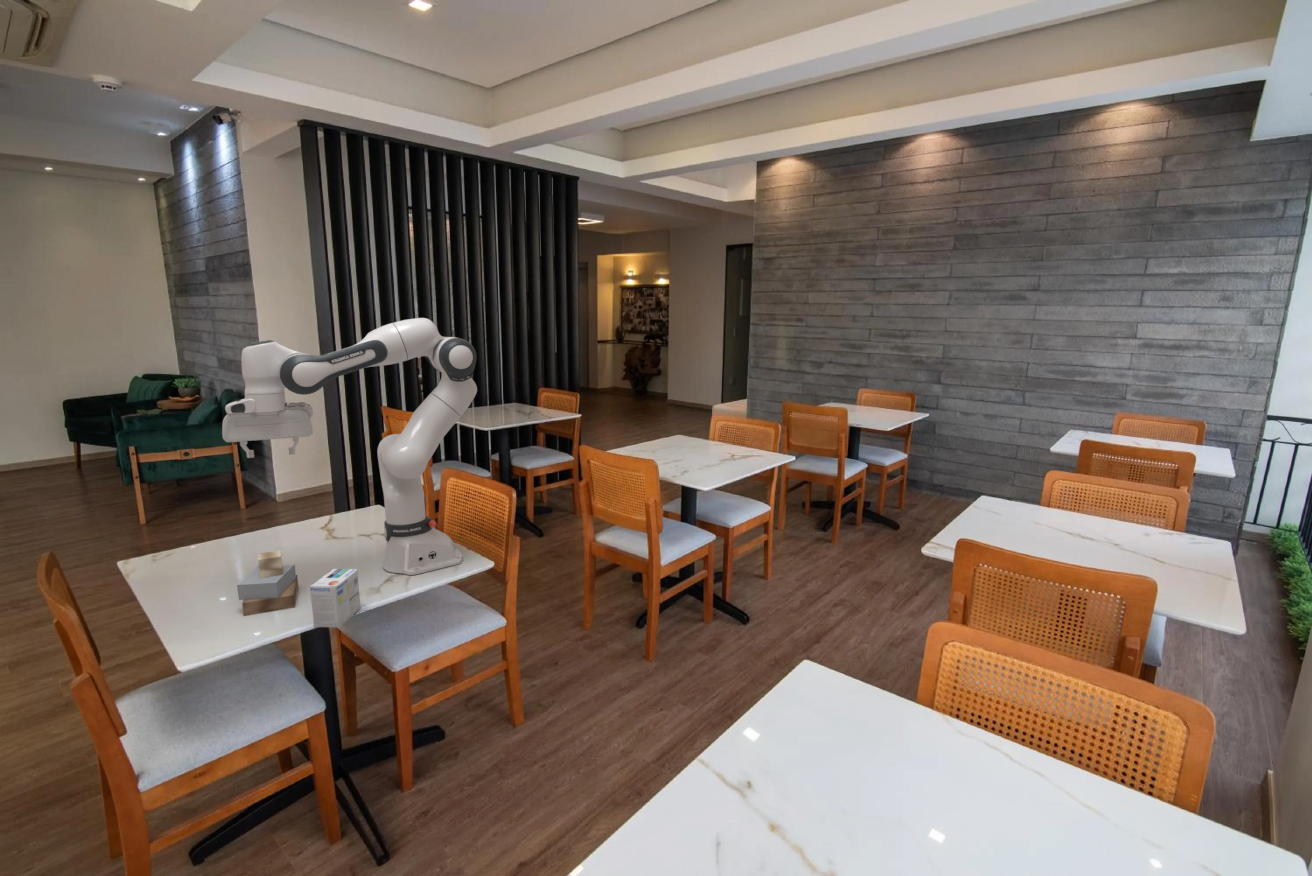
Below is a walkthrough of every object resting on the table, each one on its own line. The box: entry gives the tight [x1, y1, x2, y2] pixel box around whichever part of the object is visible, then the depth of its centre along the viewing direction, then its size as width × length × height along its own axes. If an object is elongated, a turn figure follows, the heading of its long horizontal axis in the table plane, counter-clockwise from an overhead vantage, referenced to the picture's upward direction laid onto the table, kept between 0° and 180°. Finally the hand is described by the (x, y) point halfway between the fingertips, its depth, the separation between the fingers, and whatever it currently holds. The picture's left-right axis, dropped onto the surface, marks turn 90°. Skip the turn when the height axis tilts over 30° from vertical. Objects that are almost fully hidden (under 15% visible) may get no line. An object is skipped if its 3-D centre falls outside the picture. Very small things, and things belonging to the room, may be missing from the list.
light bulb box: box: [309, 568, 361, 628], centre depth 155 cm, size 11×7×11 cm, turn 178°
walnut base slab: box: [241, 574, 299, 617], centre depth 164 cm, size 11×14×4 cm
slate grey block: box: [236, 563, 297, 601], centre depth 163 cm, size 9×12×4 cm
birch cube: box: [257, 550, 283, 578], centre depth 163 cm, size 5×5×5 cm
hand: (271, 455), depth 166 cm, fingers open, 8 cm apart
